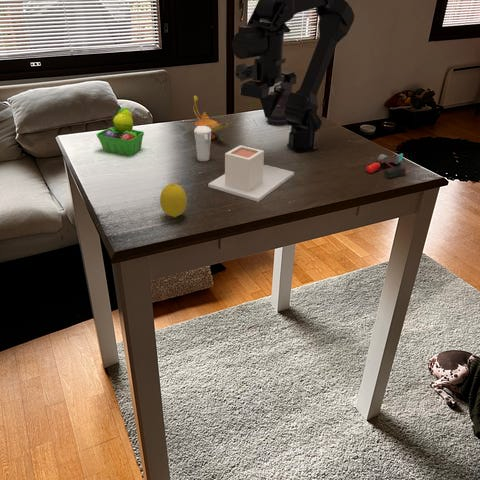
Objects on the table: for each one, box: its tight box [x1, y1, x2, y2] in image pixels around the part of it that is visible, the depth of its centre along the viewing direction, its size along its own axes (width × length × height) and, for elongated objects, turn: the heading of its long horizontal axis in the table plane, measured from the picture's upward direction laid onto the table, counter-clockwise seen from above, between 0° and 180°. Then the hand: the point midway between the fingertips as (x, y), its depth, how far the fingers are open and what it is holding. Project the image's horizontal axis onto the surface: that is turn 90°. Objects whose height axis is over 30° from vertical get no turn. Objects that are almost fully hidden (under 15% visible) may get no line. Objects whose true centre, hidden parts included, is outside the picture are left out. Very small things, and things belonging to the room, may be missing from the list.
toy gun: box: [365, 153, 407, 180], centre depth 125 cm, size 10×12×5 cm
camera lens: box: [266, 82, 293, 126], centre depth 153 cm, size 8×8×15 cm
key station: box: [207, 144, 295, 203], centre depth 116 cm, size 18×14×9 cm
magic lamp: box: [193, 95, 228, 140], centre depth 141 cm, size 7×18×11 cm, turn 36°
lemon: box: [159, 182, 188, 219], centre depth 100 cm, size 6×6×8 cm
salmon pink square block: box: [234, 149, 256, 158], centre depth 112 cm, size 4×4×3 cm
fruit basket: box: [96, 107, 145, 157], centre depth 132 cm, size 11×9×11 cm
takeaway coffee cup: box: [193, 125, 214, 162], centre depth 127 cm, size 5×5×10 cm
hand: (267, 117), depth 123 cm, fingers closed
